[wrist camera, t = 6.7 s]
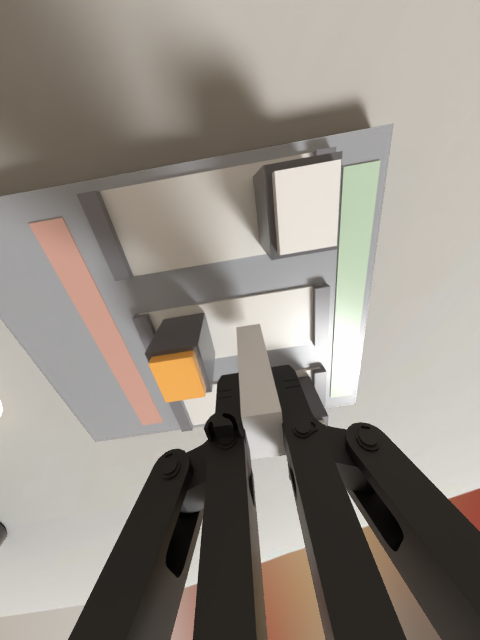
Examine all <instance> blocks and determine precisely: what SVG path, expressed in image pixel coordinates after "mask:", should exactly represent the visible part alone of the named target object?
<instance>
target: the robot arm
mask: <svg viewBox="0 0 480 640" xmlns="http://www.w3.org/2000/svg"><path fill="white" fill-rule="evenodd" d="M236 331H237V350H238V369H239V373H233V374H226V375H221V377H220V379H219V381H218V382H217V393H216V407H215V413H214V414H213V415H212V416H210V417H209V419H208V420H207V421H206V424H205V427H204V430H205V433H206V435H207V438H208V440H207V441H206V442H205V443H204V444H202V445H201V446H199V447H197V448H195V449H193V450H191V451H189V452H187V453H186V452H185V451H184V450H181V449H172V450H170V451H168V452H166V453H164V454H163V455H162V456H161V457H160V458H159V459H158V460H157V462H156V463H155V465H154V467H153V469H152V471H151V473H150V475H149V477H148V479H147V481H146V483H145V485H144V487H143V489H142V491H141V493H140V495H139V497H138V499H137V501H136V503H135V505H134V507H133V509H132V511H131V513H130V515H129V517H128V519H127V521H126V523H125V525H124V527H123V530H122V532H121V534H120V536H119V538H118V540H117V542H116V544H115V546H114V548H113V550H112V552H111V554H110V556H109V558H108V560H107V562H106V564H105V566H104V568H103V570H102V572H101V574H100V576H99V578H98V580H97V582H96V584H95V586H94V588H93V590H92V592H91V594H90V596H89V598H88V600H87V602H86V604H85V606H84V609H83V611H82V613H81V615H80V617H79V619H78V621H77V623H76V625H75V627H74V629H73V631H72V633H71V635H70V637H69V639H68V640H170V639H171V635H172V632H173V628H174V624H175V620H176V616H177V613H178V609H179V605H180V601H181V598H182V594H183V590H184V587H185V583H186V579H187V575H188V571H189V568H190V564H191V560H192V556H193V553H194V549H195V545H196V541H197V538H198V534H199V530H200V526H201V523H202V519H203V523H202V535H201V547H200V559H199V572H198V584H197V596H196V608H195V620H194V632H193V640H268V637H267V626H266V614H265V603H264V593H263V582H262V581H263V580H262V569H261V558H260V547H259V535H258V524H257V513H256V502H255V490H254V479H253V472H252V468H251V460H252V459H259V458H266V457H274V456H281V455H286V456H287V461H288V468H289V478H290V480H291V483H292V488H293V492H294V497H295V501H296V506H297V511H298V515H299V520H300V524H301V529H302V533H303V538H304V543H305V547H306V552H307V556H308V561H309V565H310V570H311V575H312V578H313V584H314V589H315V593H316V598H317V602H318V607H319V611H320V616H321V621H322V625H323V629H324V634H325V639H326V640H407V639H406V637H405V635H404V632H403V630H402V627H401V625H400V622H399V620H398V617H397V615H396V612H395V610H394V607H393V605H392V602H391V600H390V597H389V595H388V593H387V590H386V587H385V585H384V583H383V580H382V577H381V575H380V572H379V570H378V568H377V565H376V563H375V560H374V558H373V555H372V553H371V550H370V548H369V545H368V543H367V541H366V538H365V535H364V533H363V530H362V528H361V525H360V523H359V520H358V518H357V515H356V513H355V510H354V508H353V505H352V503H351V500H350V498H349V495H348V493H349V494H350V496H351V498H352V499H353V501H354V502H355V504H356V505H357V507H358V509H359V510H360V512H361V513H362V515H363V516H364V518H365V520H366V521H367V523H368V524H369V526H370V527H371V529H372V531H373V532H374V534H375V535H376V537H377V539H378V540H379V542H380V543H381V545H382V546H383V548H384V550H385V551H386V553H387V554H388V556H389V557H390V559H391V561H392V562H393V564H394V565H395V567H396V568H397V570H398V571H399V573H400V575H401V576H402V578H403V580H404V581H405V583H406V584H407V586H408V587H409V589H410V591H411V592H412V594H413V595H414V597H415V598H416V600H417V601H418V603H419V605H420V606H421V608H422V609H423V611H424V613H425V614H426V616H427V617H428V619H429V620H430V622H431V624H432V625H433V627H434V628H435V630H436V632H437V633H438V635H439V636H440V638H441V639H442V640H480V532H479V531H478V530H477V529H476V528H475V526H474V525H473V524H472V523H471V522H469V520H468V519H467V518H466V517H465V516H464V515H463V514H462V513H461V512H460V511H459V510H458V509H457V508H456V507H455V506H454V505H453V504H452V503H451V502H450V501H449V500H448V499H447V498H446V496H445V495H444V494H443V493H442V492H441V491H440V490H439V489H438V488H437V487H436V486H435V485H434V484H433V483H432V482H431V481H430V480H429V479H428V478H427V477H426V476H425V475H424V474H423V473H422V472H421V471H420V470H419V469H418V468H417V467H416V466H415V464H414V463H413V462H412V461H411V460H410V459H409V458H408V457H407V456H406V455H405V454H404V453H403V452H402V451H401V450H400V449H399V448H398V447H397V446H396V445H395V444H394V443H393V442H392V441H391V440H390V439H389V438H388V437H387V436H386V435H385V433H383V432H382V431H381V430H380V429H378V428H377V427H375V426H373V425H371V424H368V423H361V422H360V423H354V424H352V425H351V426H349V427H348V429H347V430H346V429H340V428H334V427H330V426H327V425H324V424H322V423H321V422H319V421H318V420H317V419H316V418H315V417H314V416H313V414H312V412H311V410H310V407H309V405H308V402H307V400H306V397H305V394H304V392H303V389H302V387H301V384H300V382H299V380H298V376H297V374H296V371H295V370H294V369H293V368H292V367H291V366H290V365H289V364H288V365H282V366H275V367H271V366H270V362H269V358H268V354H267V350H266V346H265V342H264V338H263V334H262V330H261V326H260V324H254V325H248V326H241V327H236ZM346 490H347V491H348V493H347V491H346ZM6 536H7V532H6V530H5V528H4V527H3V526H2V525H1V524H0V546H1V544H2V543H3V541H4V540H5V538H6Z"/></svg>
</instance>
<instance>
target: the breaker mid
mask: <svg viewBox="0 0 480 640" xmlns="http://www.w3.org/2000/svg"><path fill="white" fill-rule="evenodd" d="M145 356H146V358H147V360H148V362H149V363H148V365H149V367H150V369H151V371H152V373H153V376H154V378H155V380H156V382H157V384H158V387H159V389H160V391H161V393H162V395H163V398H164V400H165V402H166V403H167V402H174V401H180V400H187V399H194V398H201V397H205V395H206V393H208V392H212V387H213V375H214V364H215V350H214V346H213V342H212V338H211V334H210V331H209V327H208V323H207V319H206V315H205V313H199V314H193V315H187V316H181V317H175V318H168V319H163V321H162V323H161V325H160V326H159V328H158V330H157V332H156V334H155V335H154V337H153V339H152V341H151V342H150V344H149V346H148V348H147V350H146V351H145Z"/></svg>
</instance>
